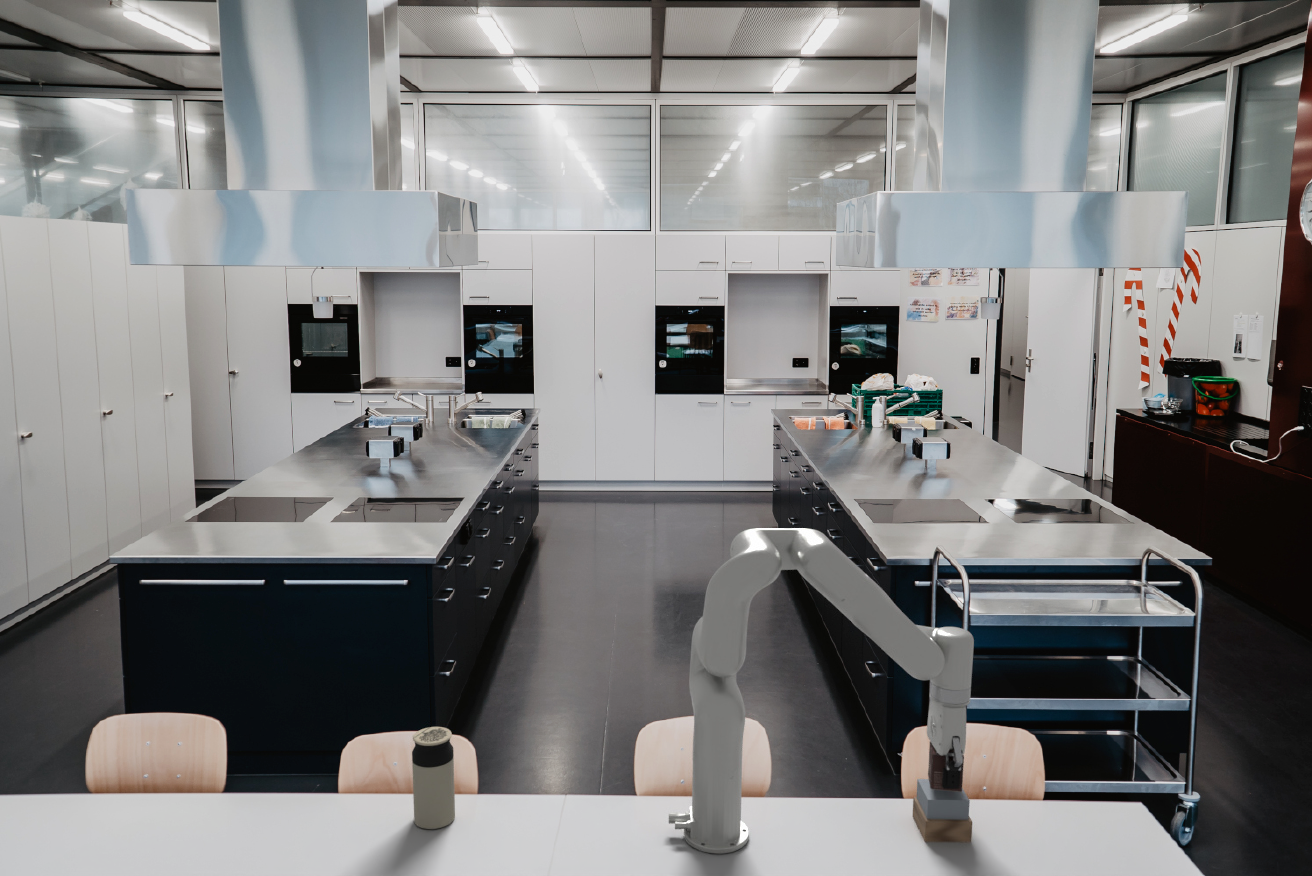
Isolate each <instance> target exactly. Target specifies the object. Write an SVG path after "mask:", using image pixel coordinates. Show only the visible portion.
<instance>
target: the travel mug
mask: <svg viewBox="0 0 1312 876" xmlns="http://www.w3.org/2000/svg"><path fill="white" fill-rule="evenodd" d="M452 736H453V735H452V731H451V730H450V729H449V728H447V727H442V726H431V727H430V726H429V727H425V728H422V729H420V730H418V731H416V732H415V733H414V734H413V735H412V741H413V742H414V747H413V749H412V751H411V758H412V760H411V761H412V763H411V765H412V789H413V790H412V792H413V797H412V798H413V819H414V823H415V824H414V825H416V826H417V827H419V828H422V829H425V830H427V829H428V830H436V829H440V828H444V827H447V826H448V825H450V824H451V823H452V822H453V821H454V820H455V818H456V803H455V802H456V799H455V798H456V796H455V794H456V793H455V764H454V763H455V761H454V759H455V757H454V754H455V753H454V746H453V745H452V743H451V738H452Z"/></svg>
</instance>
